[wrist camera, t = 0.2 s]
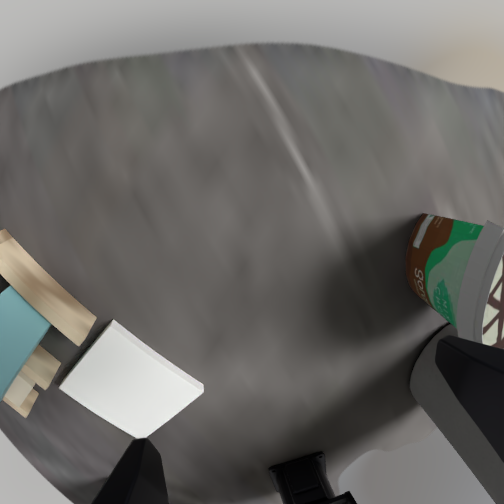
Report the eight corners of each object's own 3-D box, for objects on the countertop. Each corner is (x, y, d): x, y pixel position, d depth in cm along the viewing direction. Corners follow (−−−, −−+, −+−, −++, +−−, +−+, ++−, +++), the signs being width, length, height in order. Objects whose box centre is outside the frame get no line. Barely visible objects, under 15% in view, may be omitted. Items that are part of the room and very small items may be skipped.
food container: (367, 255, 23) (454, 310, 14) (414, 200, 23) (510, 227, 13) (428, 332, 27) (492, 386, 18) (465, 287, 26) (534, 328, 17)
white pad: (203, 384, 24) (203, 391, 23) (142, 433, 25) (141, 440, 24) (113, 319, 21) (110, 325, 20) (62, 381, 22) (58, 387, 21)
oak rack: (96, 317, 21) (81, 346, 17) (35, 397, 22) (22, 425, 18) (4, 228, 18) (-25, 242, 14) (-39, 329, 19) (-59, 350, 15)
